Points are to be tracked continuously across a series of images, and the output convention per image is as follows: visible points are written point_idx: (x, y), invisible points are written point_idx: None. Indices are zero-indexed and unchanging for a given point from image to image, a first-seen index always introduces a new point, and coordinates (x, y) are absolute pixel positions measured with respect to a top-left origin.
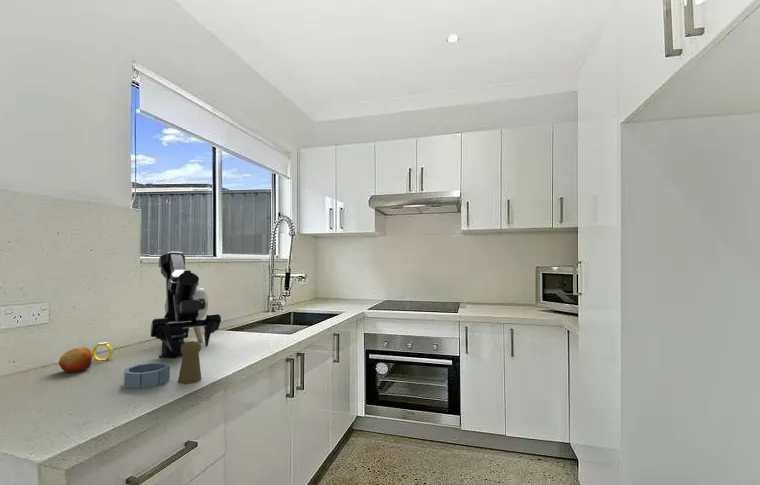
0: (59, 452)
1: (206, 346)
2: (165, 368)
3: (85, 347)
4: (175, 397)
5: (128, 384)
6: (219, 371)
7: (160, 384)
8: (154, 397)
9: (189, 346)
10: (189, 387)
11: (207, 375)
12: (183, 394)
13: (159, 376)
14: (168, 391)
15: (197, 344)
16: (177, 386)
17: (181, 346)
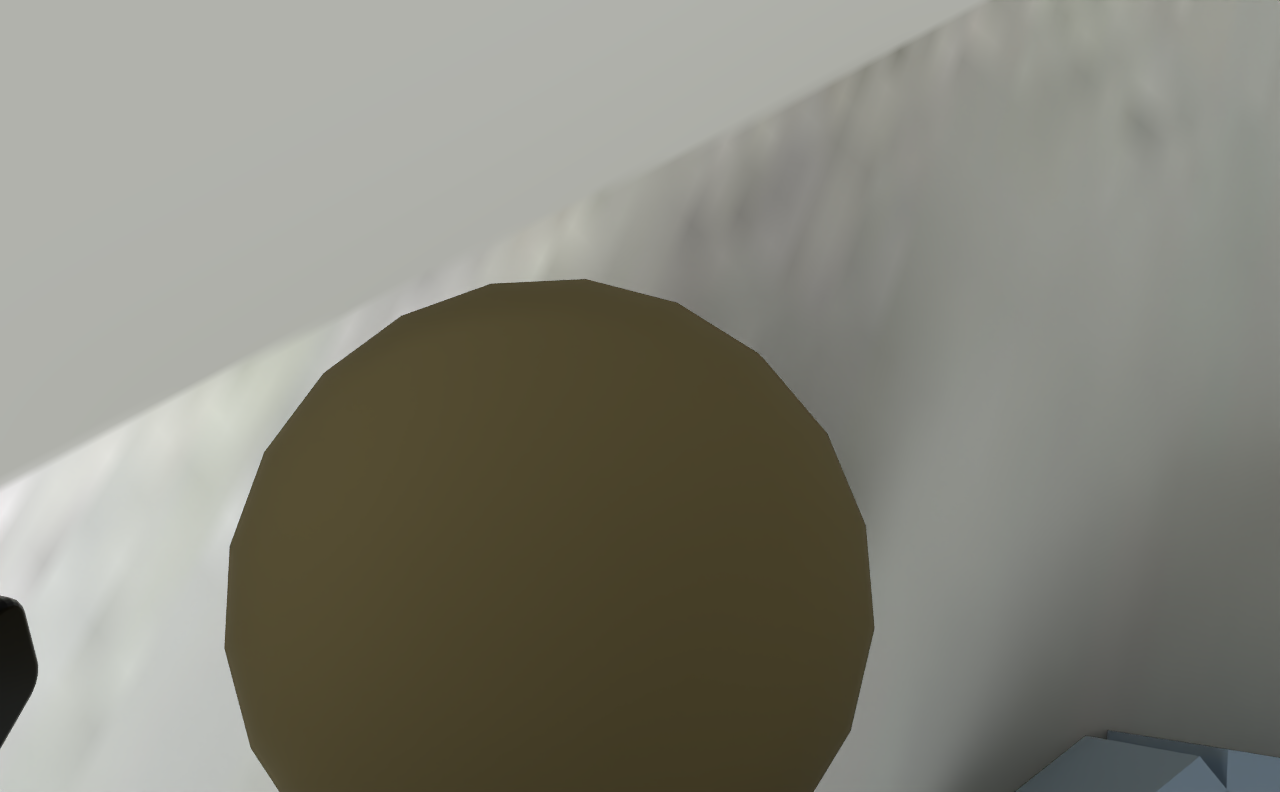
0: None
1: (28, 654)
2: None
3: None
4: (1042, 25)
5: None
6: (38, 738)
7: (1067, 751)
8: (1265, 217)
9: (700, 333)
10: (761, 277)
11: None
12: (926, 60)
13: (1152, 751)
14: (1049, 324)
15: (420, 318)
16: (878, 455)
17: (850, 705)
